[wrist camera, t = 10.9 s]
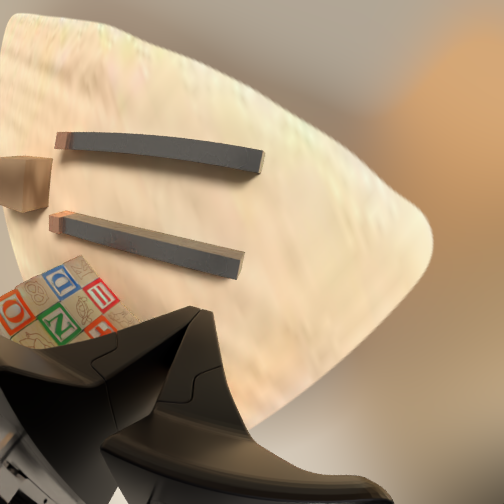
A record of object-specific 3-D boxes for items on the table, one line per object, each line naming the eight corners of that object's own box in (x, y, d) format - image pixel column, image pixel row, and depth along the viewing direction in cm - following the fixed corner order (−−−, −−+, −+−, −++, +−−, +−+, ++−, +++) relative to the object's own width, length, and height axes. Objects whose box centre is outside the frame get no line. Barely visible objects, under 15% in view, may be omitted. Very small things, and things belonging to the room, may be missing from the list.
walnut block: (49, 206, 22) (22, 212, 18) (21, 198, 22) (-4, 203, 19) (53, 158, 21) (25, 159, 17) (25, 155, 21) (-1, 157, 17)
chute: (240, 270, 21) (235, 282, 19) (65, 225, 22) (49, 230, 20) (265, 153, 19) (262, 149, 16) (74, 133, 20) (57, 132, 17)
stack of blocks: (232, 399, 26) (206, 498, 14) (196, 417, 27) (165, 502, 15) (81, 253, 23) (-15, 302, 11) (61, 289, 25) (-17, 340, 13)
